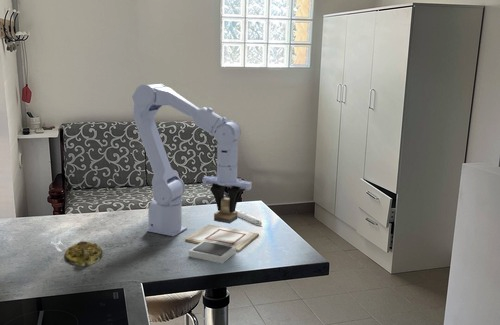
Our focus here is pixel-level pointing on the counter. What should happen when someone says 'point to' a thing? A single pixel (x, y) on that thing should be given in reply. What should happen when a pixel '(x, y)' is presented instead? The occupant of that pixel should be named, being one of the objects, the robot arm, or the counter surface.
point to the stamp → (225, 212)
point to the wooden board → (223, 236)
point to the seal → (83, 253)
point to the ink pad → (212, 252)
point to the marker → (248, 217)
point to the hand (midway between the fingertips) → (226, 210)
